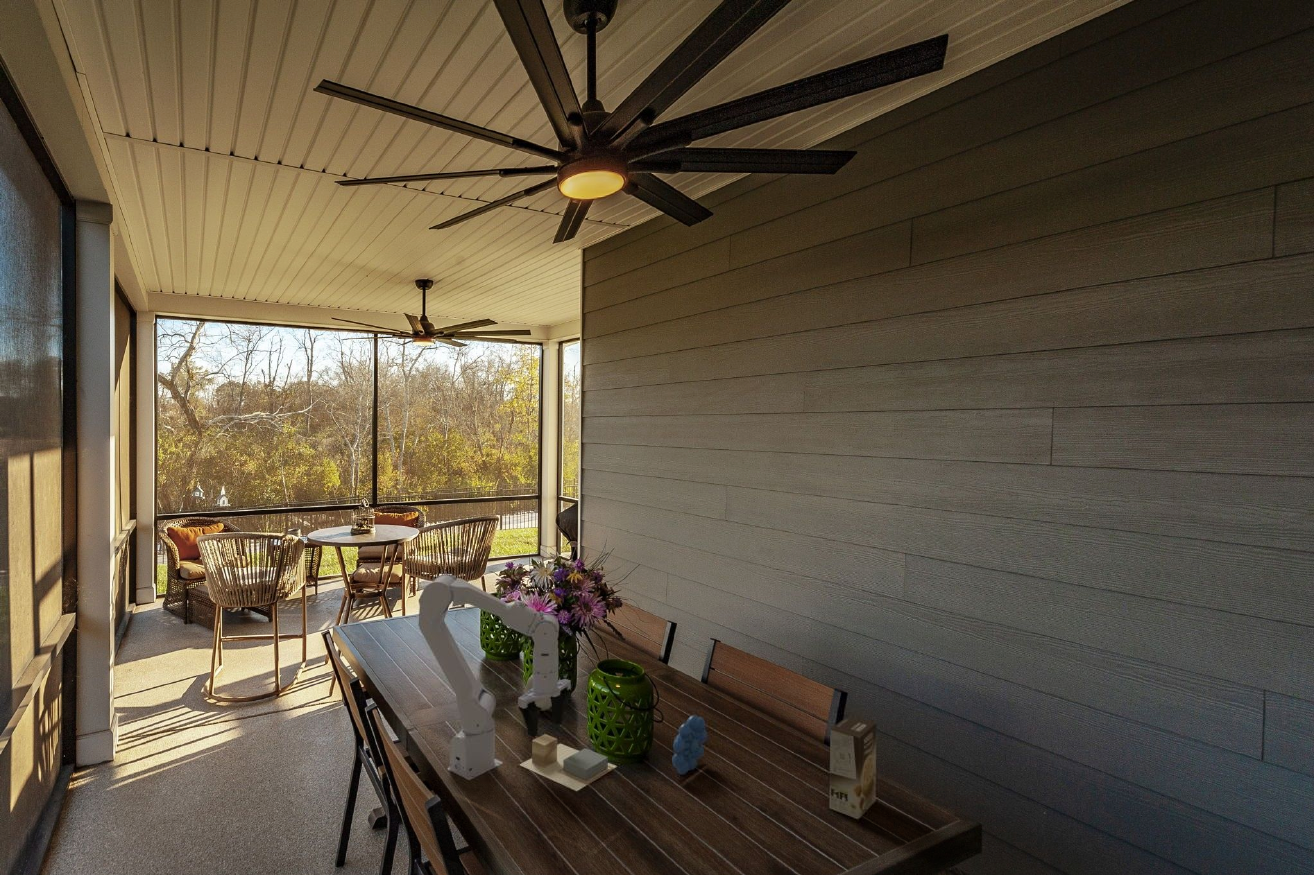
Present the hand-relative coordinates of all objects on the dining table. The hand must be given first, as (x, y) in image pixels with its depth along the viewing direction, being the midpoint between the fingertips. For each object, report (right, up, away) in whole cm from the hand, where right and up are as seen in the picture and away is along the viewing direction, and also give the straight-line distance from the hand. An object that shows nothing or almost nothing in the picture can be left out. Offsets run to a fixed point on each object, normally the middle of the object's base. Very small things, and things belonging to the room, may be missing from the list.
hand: (545, 729), depth 145 cm
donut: (-7, -9, +30) cm, 32 cm away
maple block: (0, -7, 0) cm, 7 cm away
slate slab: (+10, -7, -4) cm, 13 cm away
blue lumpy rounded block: (+32, -8, -2) cm, 33 cm away
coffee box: (+66, -9, -15) cm, 68 cm away
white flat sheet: (+6, -8, -2) cm, 10 cm away
